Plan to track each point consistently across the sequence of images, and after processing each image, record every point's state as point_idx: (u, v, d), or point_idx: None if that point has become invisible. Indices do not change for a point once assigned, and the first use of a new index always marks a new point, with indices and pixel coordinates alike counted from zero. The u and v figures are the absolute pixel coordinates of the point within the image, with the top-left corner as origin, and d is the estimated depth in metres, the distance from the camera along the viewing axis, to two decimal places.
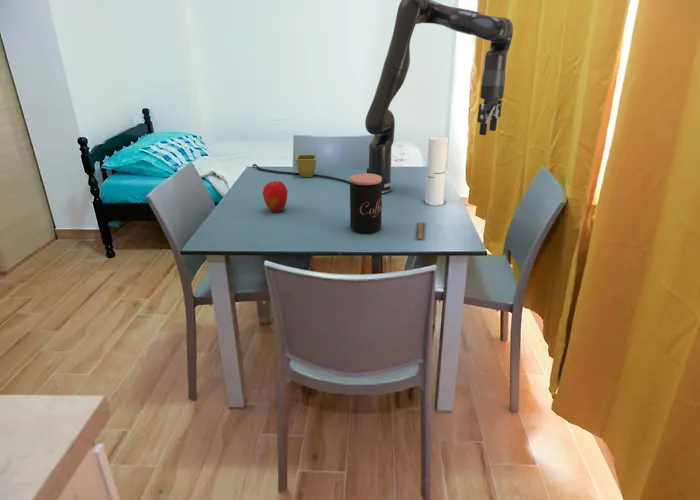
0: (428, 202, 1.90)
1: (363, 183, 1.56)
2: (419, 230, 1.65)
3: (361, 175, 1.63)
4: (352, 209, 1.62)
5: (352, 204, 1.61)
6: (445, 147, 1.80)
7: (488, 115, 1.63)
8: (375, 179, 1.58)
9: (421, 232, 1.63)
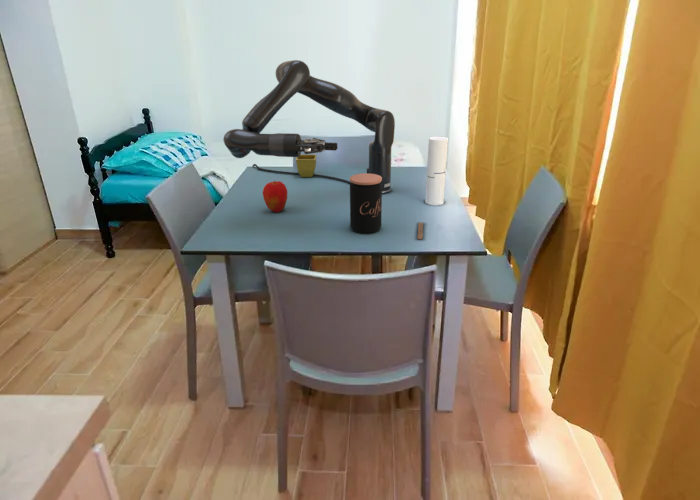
0: (428, 202, 1.90)
1: (363, 183, 1.56)
2: (419, 230, 1.65)
3: (361, 175, 1.63)
4: (352, 209, 1.62)
5: (352, 204, 1.61)
6: (445, 147, 1.80)
7: None
8: (375, 179, 1.58)
9: (421, 232, 1.63)
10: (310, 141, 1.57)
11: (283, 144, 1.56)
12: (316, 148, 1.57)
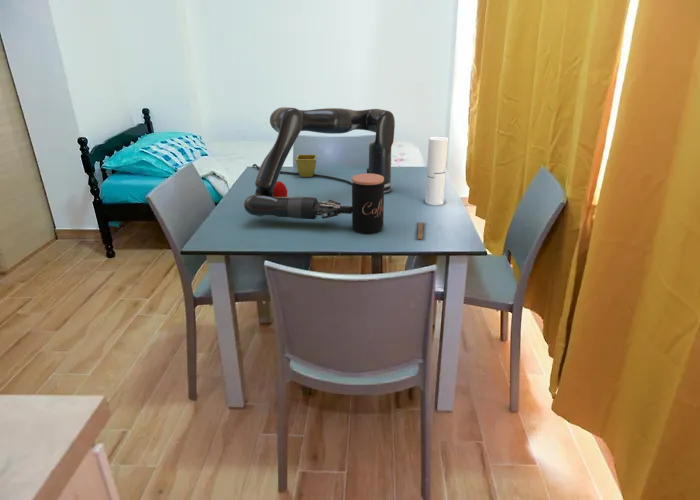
0: (428, 202, 1.90)
1: (366, 183, 1.56)
2: (419, 230, 1.65)
3: (363, 175, 1.63)
4: (354, 209, 1.62)
5: (354, 204, 1.61)
6: (445, 147, 1.80)
7: None
8: (378, 180, 1.58)
9: (421, 232, 1.63)
10: (326, 205, 1.65)
11: (301, 208, 1.65)
12: (332, 212, 1.66)
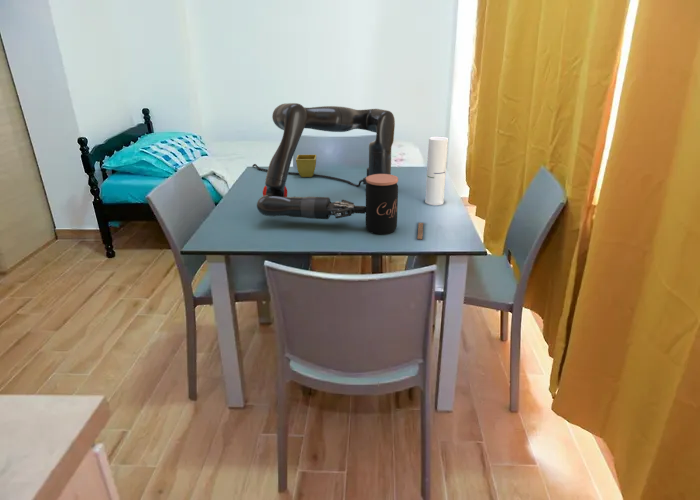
0: (428, 202, 1.90)
1: (380, 184, 1.55)
2: (419, 230, 1.65)
3: (377, 175, 1.62)
4: (368, 210, 1.61)
5: (368, 205, 1.60)
6: (445, 147, 1.80)
7: None
8: (392, 180, 1.57)
9: (421, 232, 1.63)
10: (340, 205, 1.64)
11: (314, 208, 1.64)
12: (346, 211, 1.65)
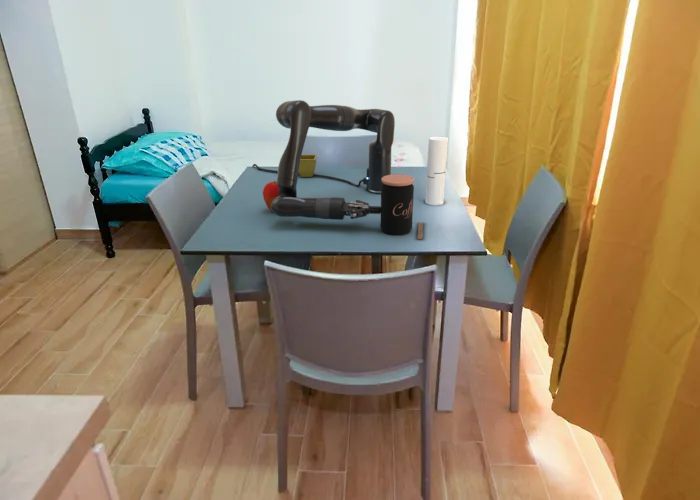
0: (428, 202, 1.90)
1: (397, 184, 1.54)
2: (419, 230, 1.65)
3: (392, 176, 1.61)
4: (384, 211, 1.60)
5: (384, 205, 1.60)
6: (445, 147, 1.80)
7: None
8: (408, 180, 1.57)
9: (421, 232, 1.63)
10: (355, 205, 1.64)
11: (329, 208, 1.63)
12: (361, 212, 1.64)
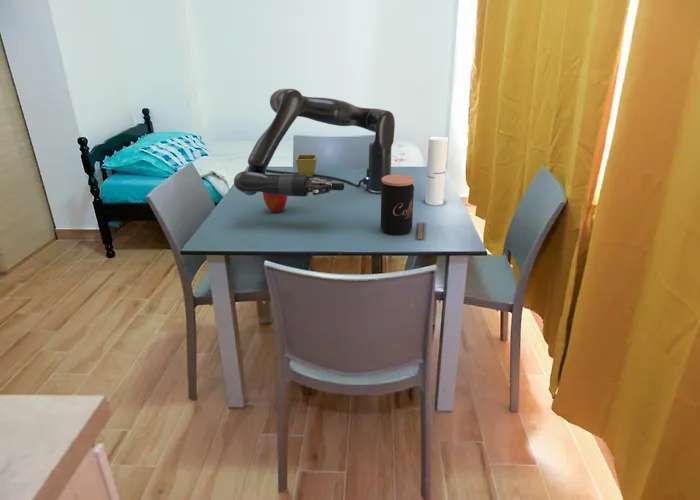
0: (428, 202, 1.90)
1: (397, 184, 1.54)
2: (419, 230, 1.65)
3: (392, 176, 1.61)
4: (384, 211, 1.60)
5: (384, 205, 1.60)
6: (445, 147, 1.80)
7: None
8: (409, 180, 1.57)
9: (421, 232, 1.63)
10: (318, 182, 1.62)
11: (292, 185, 1.62)
12: (324, 188, 1.63)
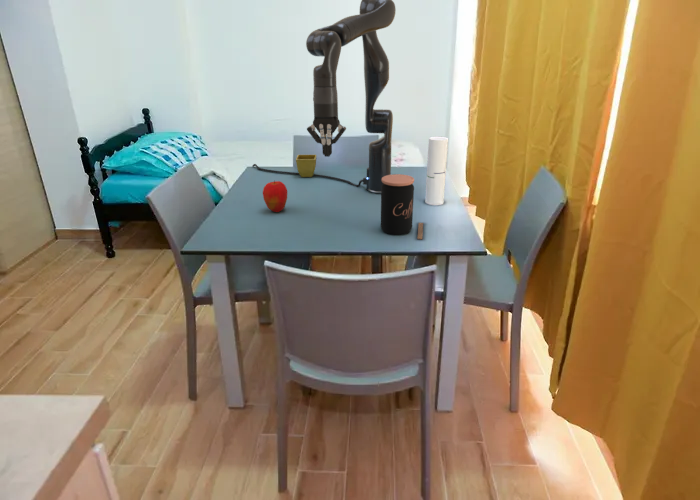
0: (428, 202, 1.90)
1: (397, 184, 1.54)
2: (419, 230, 1.65)
3: (392, 176, 1.61)
4: (384, 211, 1.60)
5: (384, 205, 1.60)
6: (445, 147, 1.80)
7: (321, 136, 1.56)
8: (409, 180, 1.57)
9: (421, 232, 1.63)
10: None
11: (337, 102, 1.53)
12: (331, 136, 1.56)
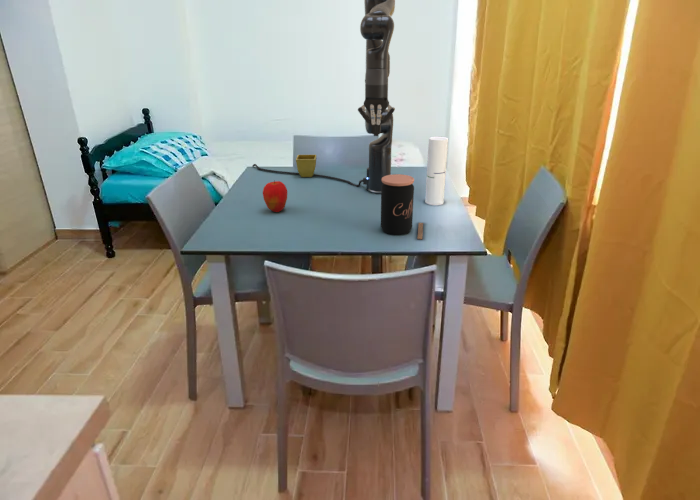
0: (428, 202, 1.90)
1: (397, 184, 1.54)
2: (419, 230, 1.65)
3: (392, 176, 1.61)
4: (384, 211, 1.60)
5: (384, 205, 1.60)
6: (445, 147, 1.80)
7: (371, 116, 1.64)
8: (409, 180, 1.57)
9: (421, 232, 1.63)
10: None
11: None
12: (380, 116, 1.65)
